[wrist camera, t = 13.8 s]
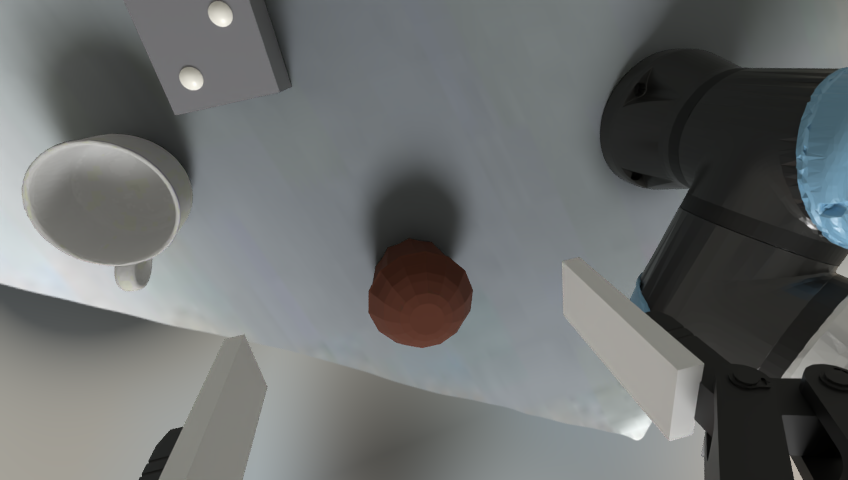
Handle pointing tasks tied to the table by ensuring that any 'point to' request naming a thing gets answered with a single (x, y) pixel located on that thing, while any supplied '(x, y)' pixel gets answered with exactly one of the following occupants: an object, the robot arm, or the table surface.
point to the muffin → (419, 294)
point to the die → (210, 50)
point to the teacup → (109, 202)
